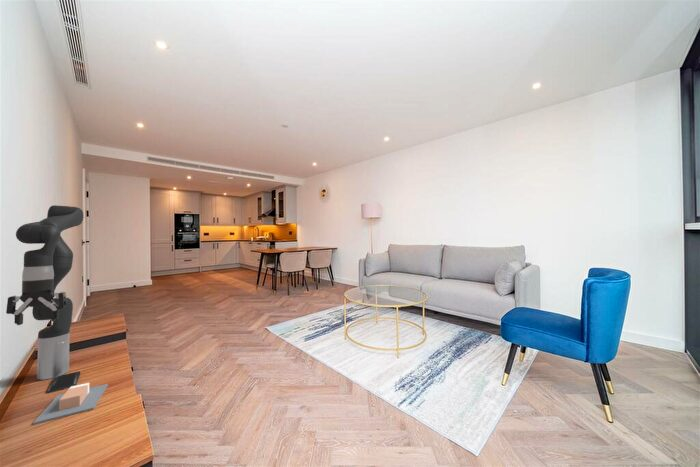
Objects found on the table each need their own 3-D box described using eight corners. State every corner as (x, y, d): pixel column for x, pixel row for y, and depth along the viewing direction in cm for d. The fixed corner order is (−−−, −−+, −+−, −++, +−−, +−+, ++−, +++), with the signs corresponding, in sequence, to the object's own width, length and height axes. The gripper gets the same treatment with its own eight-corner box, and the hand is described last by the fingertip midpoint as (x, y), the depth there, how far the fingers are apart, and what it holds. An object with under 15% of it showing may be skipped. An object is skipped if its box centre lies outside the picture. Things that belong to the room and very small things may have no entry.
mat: (58, 396, 98) (58, 394, 98) (107, 385, 105) (107, 383, 105) (33, 424, 83) (33, 422, 83) (93, 409, 90) (93, 407, 90)
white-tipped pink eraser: (79, 405, 91) (79, 395, 91) (59, 410, 88) (59, 400, 88) (89, 391, 99) (89, 382, 100) (70, 396, 97) (70, 386, 97)
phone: (80, 370, 116) (76, 384, 105) (80, 373, 116) (76, 386, 105) (53, 377, 111) (46, 391, 100) (53, 379, 111) (46, 394, 100)
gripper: (2, 281, 90) (1, 329, 90) (61, 277, 98) (60, 321, 97) (15, 279, 97) (14, 323, 96) (69, 275, 104) (68, 317, 104)
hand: (37, 322), depth 97 cm, fingers open, 8 cm apart
